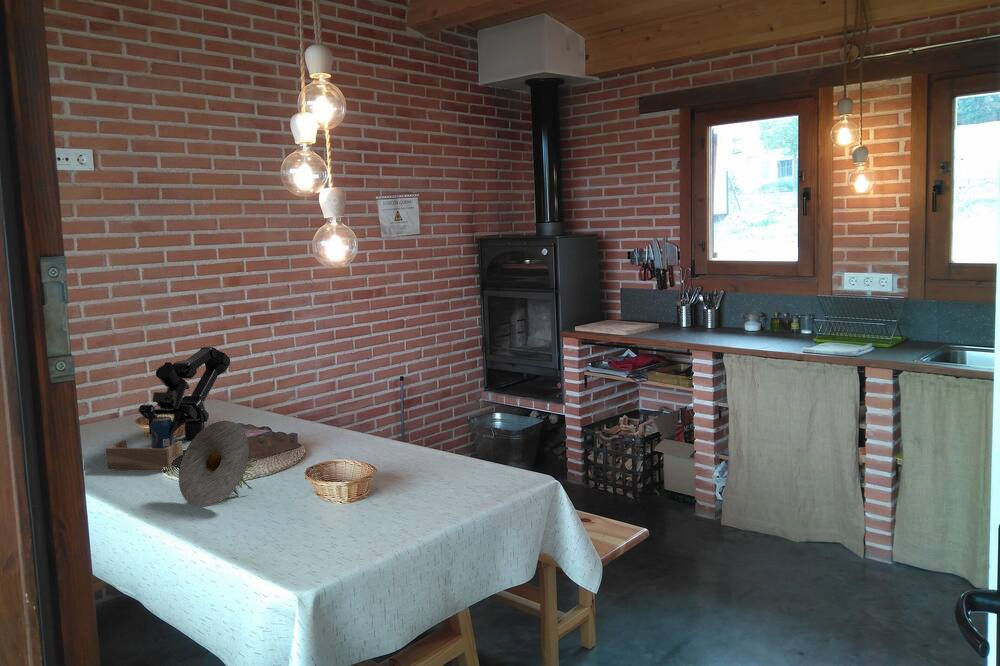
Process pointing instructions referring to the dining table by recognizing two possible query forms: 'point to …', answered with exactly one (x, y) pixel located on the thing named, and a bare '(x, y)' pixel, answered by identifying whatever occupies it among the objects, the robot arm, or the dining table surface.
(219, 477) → the disc
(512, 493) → the dining table surface
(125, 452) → the wooden u-shaped frame
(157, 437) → the soda can
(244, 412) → the dining table surface
